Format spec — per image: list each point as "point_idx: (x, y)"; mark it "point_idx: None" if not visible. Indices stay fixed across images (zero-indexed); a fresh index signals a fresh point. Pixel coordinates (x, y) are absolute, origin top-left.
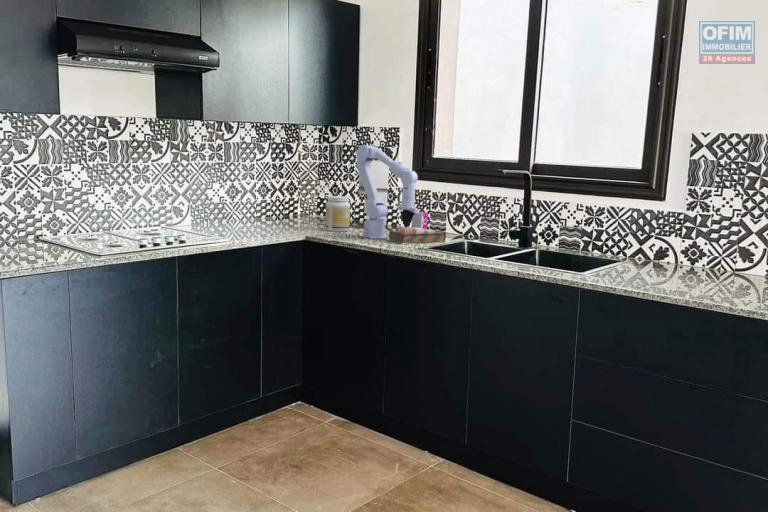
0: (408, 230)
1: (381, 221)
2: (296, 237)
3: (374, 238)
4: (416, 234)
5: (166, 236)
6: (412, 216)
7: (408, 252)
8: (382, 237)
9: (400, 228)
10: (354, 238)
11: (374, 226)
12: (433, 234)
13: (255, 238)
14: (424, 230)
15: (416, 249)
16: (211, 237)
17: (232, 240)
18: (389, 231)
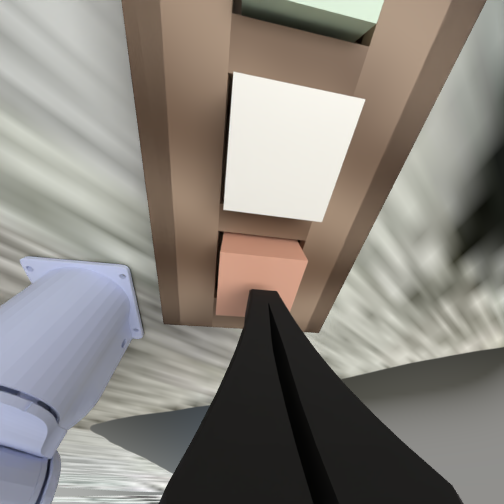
0: (293, 291)
1: (63, 396)
2: (98, 439)
3: (141, 324)
4: (355, 257)
5: (93, 500)
6: (363, 412)
7: (417, 358)
8: (132, 295)
9: (224, 315)
10: (119, 365)
11: (95, 381)
12: (458, 41)
13: (113, 468)
14: (291, 4)
15: (414, 316)
16: (101, 487)
17: (135, 480)
18: (166, 321)
